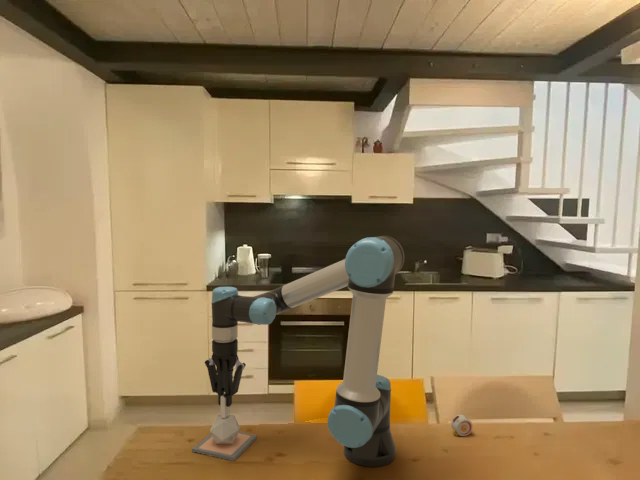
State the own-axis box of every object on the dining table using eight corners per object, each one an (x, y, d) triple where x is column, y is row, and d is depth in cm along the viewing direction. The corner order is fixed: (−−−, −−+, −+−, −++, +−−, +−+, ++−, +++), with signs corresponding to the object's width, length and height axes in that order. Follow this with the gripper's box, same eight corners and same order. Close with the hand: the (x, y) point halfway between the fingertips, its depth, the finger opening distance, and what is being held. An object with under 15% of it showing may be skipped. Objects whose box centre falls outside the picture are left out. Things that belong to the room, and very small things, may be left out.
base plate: (256, 438, 144) (256, 435, 144) (233, 461, 130) (233, 457, 130) (218, 430, 148) (218, 427, 148) (192, 452, 135) (191, 448, 135)
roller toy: (474, 436, 146) (474, 419, 146) (455, 438, 145) (456, 420, 144) (467, 430, 150) (467, 412, 150) (449, 431, 149) (449, 414, 149)
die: (225, 454, 133) (244, 424, 136) (201, 437, 135) (220, 407, 137) (230, 450, 141) (248, 421, 144) (207, 434, 142) (225, 406, 145)
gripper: (250, 338, 139) (250, 414, 140) (213, 333, 143) (213, 407, 145) (237, 344, 131) (237, 425, 133) (198, 340, 136) (199, 417, 138)
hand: (225, 415), depth 139 cm, fingers closed
